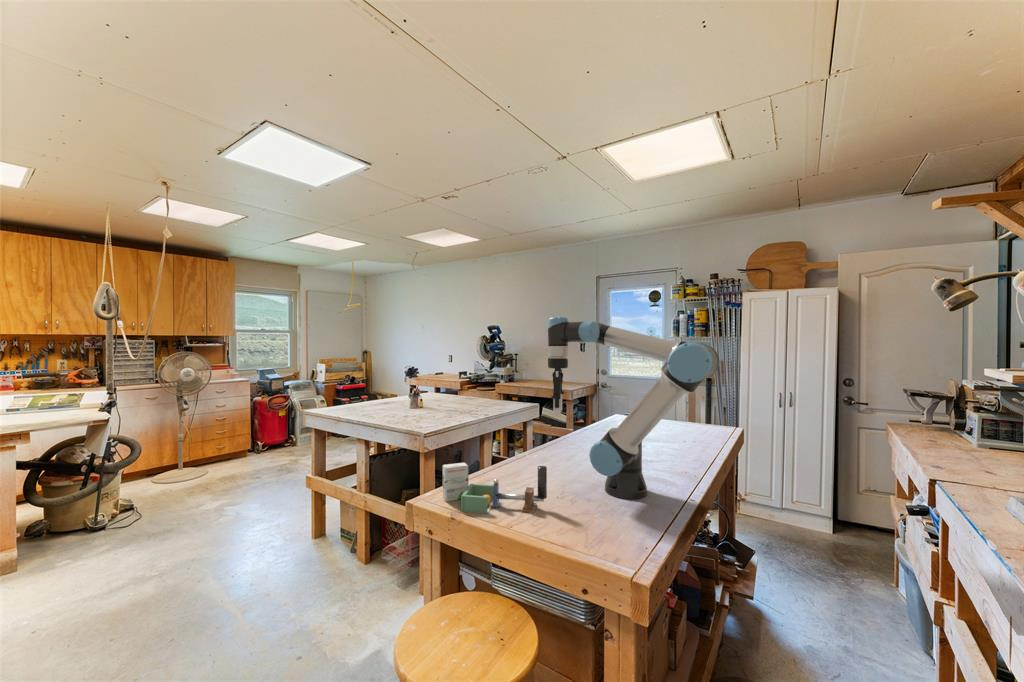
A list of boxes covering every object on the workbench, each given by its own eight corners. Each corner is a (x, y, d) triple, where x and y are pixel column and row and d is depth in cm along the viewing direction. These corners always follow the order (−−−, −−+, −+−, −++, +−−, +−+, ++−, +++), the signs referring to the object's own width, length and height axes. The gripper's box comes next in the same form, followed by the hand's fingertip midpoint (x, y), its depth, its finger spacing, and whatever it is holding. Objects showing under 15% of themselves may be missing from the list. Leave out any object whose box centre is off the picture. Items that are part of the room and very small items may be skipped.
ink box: (465, 493, 144) (465, 461, 144) (468, 498, 140) (469, 465, 140) (442, 497, 141) (442, 464, 141) (445, 502, 136) (445, 468, 137)
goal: (495, 499, 139) (495, 484, 139) (487, 513, 127) (487, 497, 127) (470, 497, 140) (470, 483, 140) (461, 511, 129) (461, 496, 129)
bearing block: (536, 504, 134) (536, 486, 134) (534, 513, 127) (534, 494, 127) (524, 503, 135) (524, 485, 135) (522, 512, 128) (522, 493, 128)
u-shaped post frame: (547, 506, 132) (547, 465, 132) (546, 510, 128) (546, 468, 129) (494, 503, 134) (494, 463, 135) (492, 507, 131) (492, 466, 132)
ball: (489, 491, 135) (480, 495, 136) (487, 495, 131) (478, 499, 132) (494, 500, 135) (485, 505, 135) (492, 504, 131) (483, 509, 132)
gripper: (550, 356, 162) (550, 408, 162) (545, 358, 137) (545, 419, 137) (568, 356, 161) (568, 408, 160) (567, 358, 136) (567, 419, 136)
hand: (558, 413), depth 149 cm, fingers open, 13 cm apart
